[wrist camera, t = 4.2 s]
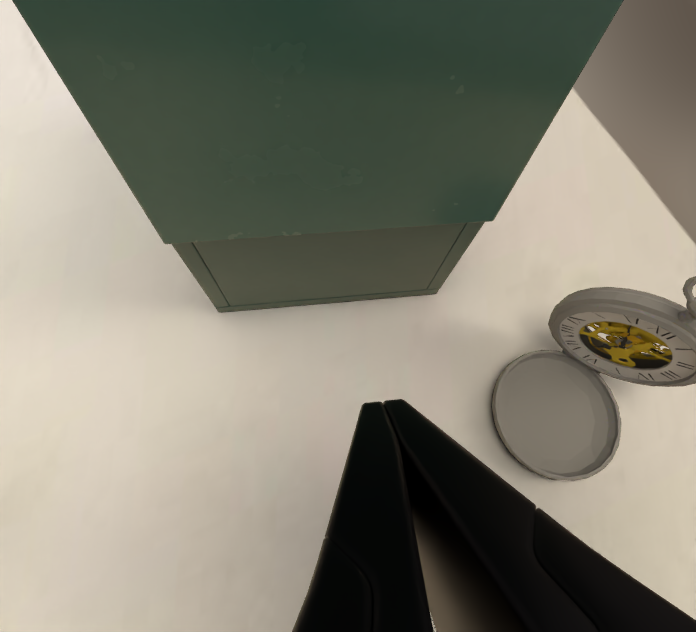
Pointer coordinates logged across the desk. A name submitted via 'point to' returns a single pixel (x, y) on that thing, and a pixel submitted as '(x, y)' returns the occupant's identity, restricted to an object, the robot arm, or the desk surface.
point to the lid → (317, 104)
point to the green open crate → (326, 265)
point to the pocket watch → (591, 377)
